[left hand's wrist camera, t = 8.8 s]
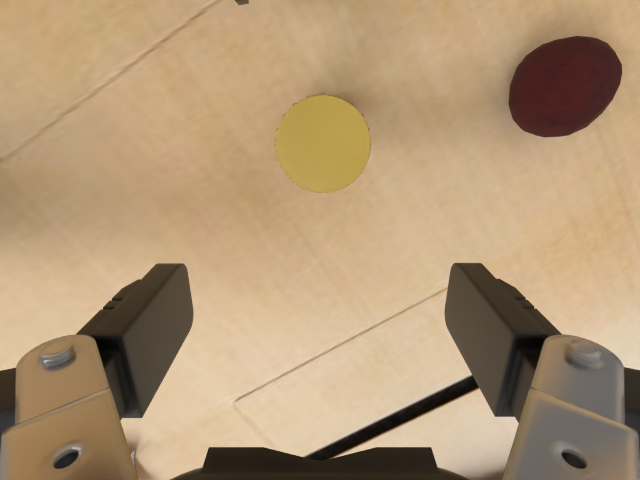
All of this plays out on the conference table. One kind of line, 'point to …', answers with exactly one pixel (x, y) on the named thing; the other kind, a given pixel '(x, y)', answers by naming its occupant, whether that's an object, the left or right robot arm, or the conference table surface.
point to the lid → (323, 143)
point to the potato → (564, 86)
